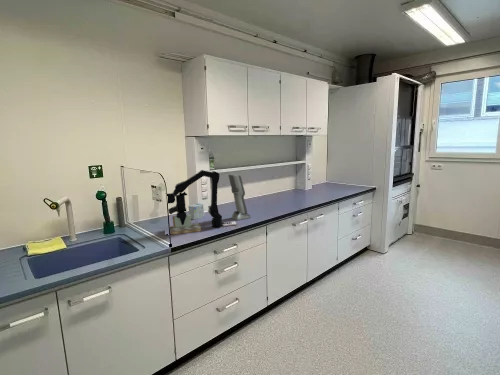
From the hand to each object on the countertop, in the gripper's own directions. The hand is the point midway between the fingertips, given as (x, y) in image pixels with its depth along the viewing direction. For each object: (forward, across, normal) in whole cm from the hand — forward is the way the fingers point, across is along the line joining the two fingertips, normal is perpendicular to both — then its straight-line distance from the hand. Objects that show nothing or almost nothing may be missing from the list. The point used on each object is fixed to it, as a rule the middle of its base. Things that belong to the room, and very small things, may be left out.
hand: (182, 224), depth 184 cm
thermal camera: (+5, -19, +44) cm, 48 cm away
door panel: (+3, 0, 0) cm, 3 cm away
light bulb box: (+5, -33, +11) cm, 35 cm away
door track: (+5, 0, 0) cm, 5 cm away
